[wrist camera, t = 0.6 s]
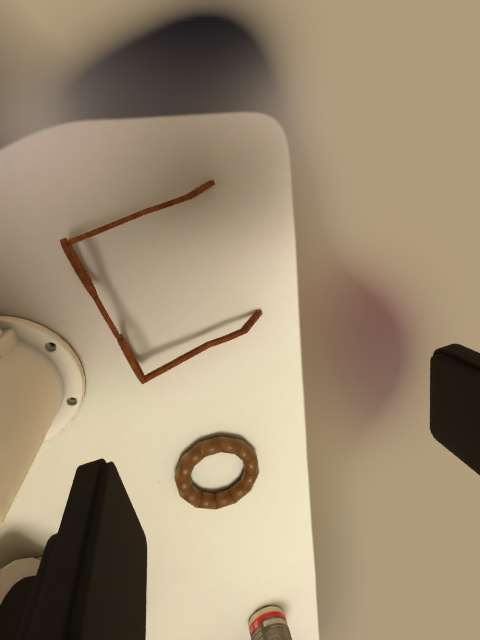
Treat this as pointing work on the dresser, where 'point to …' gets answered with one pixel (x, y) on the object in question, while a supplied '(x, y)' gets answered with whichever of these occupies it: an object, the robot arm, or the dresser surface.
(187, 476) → the ring
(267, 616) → the pill bottle
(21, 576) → the alarm clock
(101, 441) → the dresser surface
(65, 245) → the glasses
